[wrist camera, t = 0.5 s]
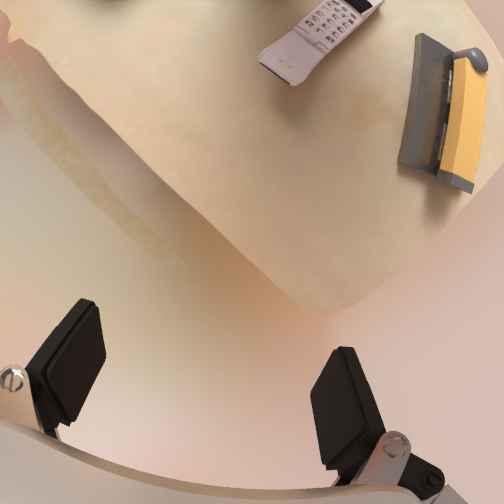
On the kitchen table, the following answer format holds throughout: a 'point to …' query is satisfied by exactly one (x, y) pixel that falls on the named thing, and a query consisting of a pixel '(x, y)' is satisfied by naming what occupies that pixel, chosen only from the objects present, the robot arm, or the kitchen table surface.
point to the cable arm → (465, 120)
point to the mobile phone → (315, 38)
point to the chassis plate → (428, 106)
